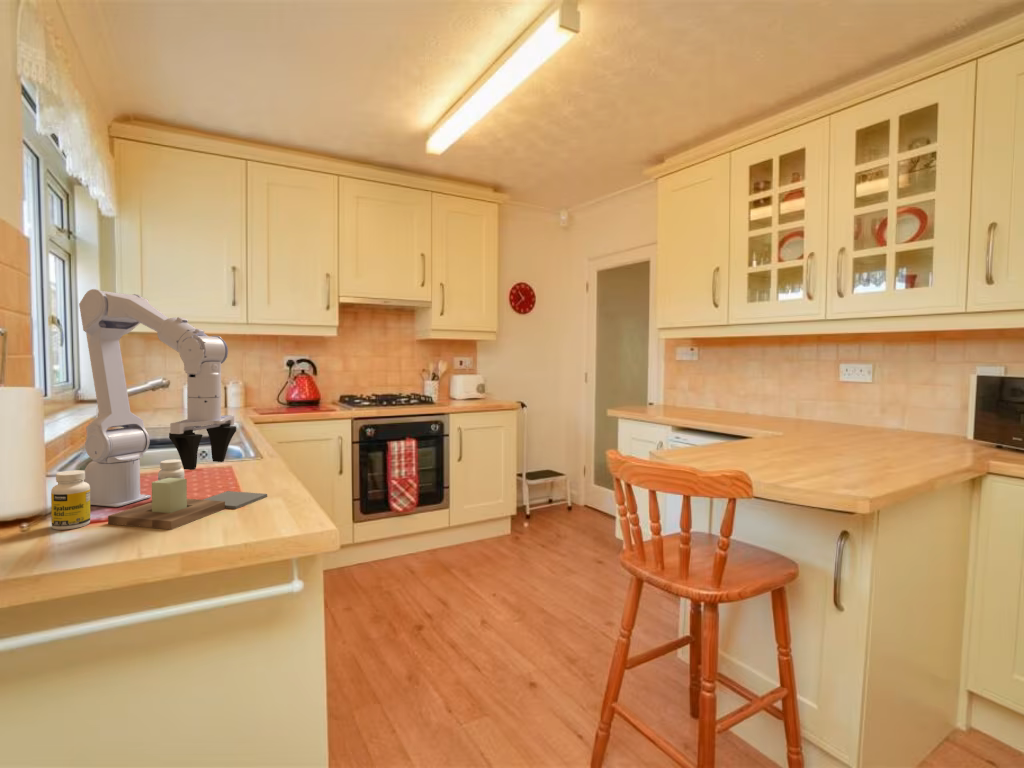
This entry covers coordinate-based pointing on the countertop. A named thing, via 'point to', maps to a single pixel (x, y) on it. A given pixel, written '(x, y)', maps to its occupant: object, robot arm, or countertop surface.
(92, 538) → the countertop surface
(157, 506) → the sage block
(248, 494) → the charcoal mat
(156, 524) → the walnut holder
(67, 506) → the supplement bottle
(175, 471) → the pill bottle
